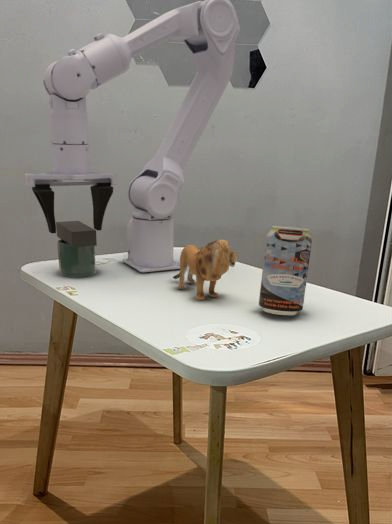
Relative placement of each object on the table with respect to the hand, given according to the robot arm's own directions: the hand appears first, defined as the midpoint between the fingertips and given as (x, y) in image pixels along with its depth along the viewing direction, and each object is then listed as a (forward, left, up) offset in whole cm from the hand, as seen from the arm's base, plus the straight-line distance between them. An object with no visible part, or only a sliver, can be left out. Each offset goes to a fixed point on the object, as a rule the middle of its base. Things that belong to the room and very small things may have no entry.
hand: (75, 230), depth 94 cm
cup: (0, 0, -7) cm, 7 cm away
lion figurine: (+19, +14, -7) cm, 25 cm away
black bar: (0, 0, -2) cm, 2 cm away
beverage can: (+32, +20, -7) cm, 38 cm away
